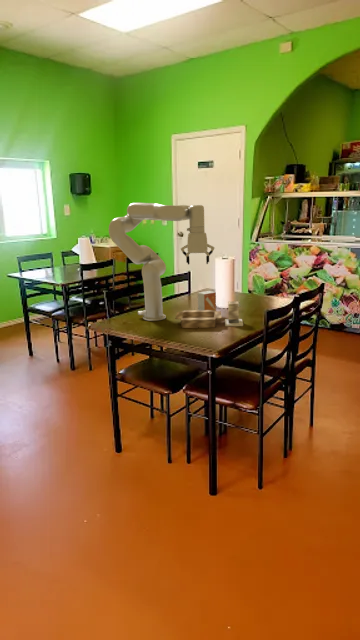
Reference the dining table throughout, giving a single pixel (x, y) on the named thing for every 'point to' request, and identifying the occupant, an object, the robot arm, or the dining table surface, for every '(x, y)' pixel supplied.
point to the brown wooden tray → (198, 318)
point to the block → (233, 312)
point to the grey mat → (233, 323)
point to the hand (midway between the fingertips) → (197, 263)
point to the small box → (207, 300)
